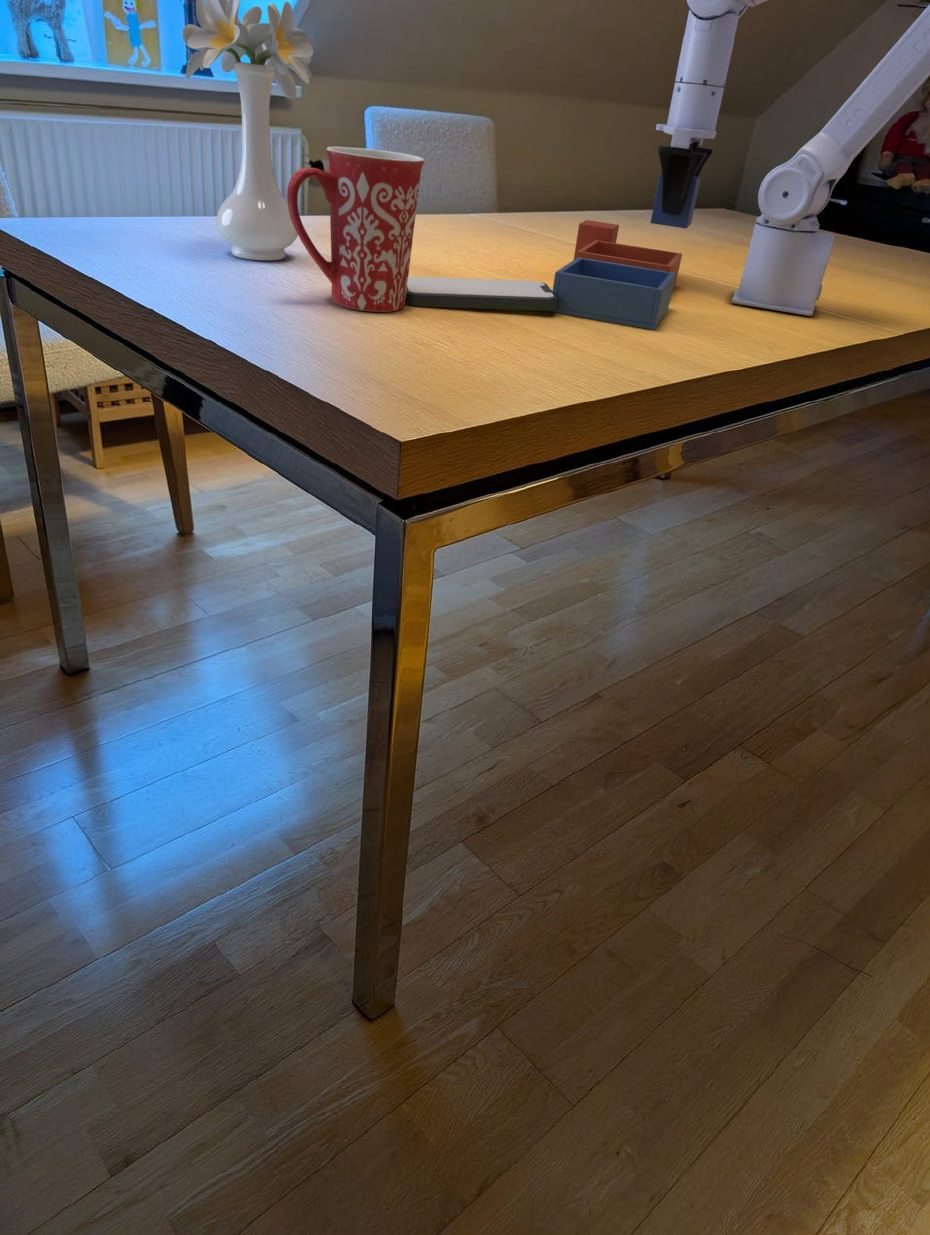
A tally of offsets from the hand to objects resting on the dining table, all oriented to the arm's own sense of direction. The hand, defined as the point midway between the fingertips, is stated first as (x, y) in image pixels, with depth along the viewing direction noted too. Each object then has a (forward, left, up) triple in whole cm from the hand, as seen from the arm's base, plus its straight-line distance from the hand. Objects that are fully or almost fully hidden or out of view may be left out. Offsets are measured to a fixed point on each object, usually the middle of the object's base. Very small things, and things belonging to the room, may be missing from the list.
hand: (673, 211), depth 110 cm
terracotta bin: (+3, +7, -8) cm, 12 cm away
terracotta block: (+9, -2, -8) cm, 13 cm away
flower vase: (+44, +25, -9) cm, 52 cm away
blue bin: (+2, +22, -8) cm, 24 cm away
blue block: (0, 0, -1) cm, 1 cm away
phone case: (+16, +29, -8) cm, 34 cm away
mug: (+26, +39, -9) cm, 48 cm away
